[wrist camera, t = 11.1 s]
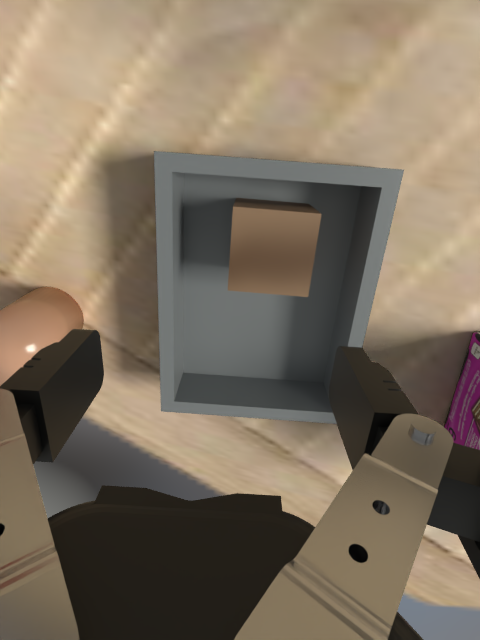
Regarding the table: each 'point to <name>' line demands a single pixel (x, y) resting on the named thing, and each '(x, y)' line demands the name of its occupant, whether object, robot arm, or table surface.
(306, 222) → the walnut cube
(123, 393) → the table surface
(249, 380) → the gray tote
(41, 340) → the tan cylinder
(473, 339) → the candy bar box
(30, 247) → the table surface
